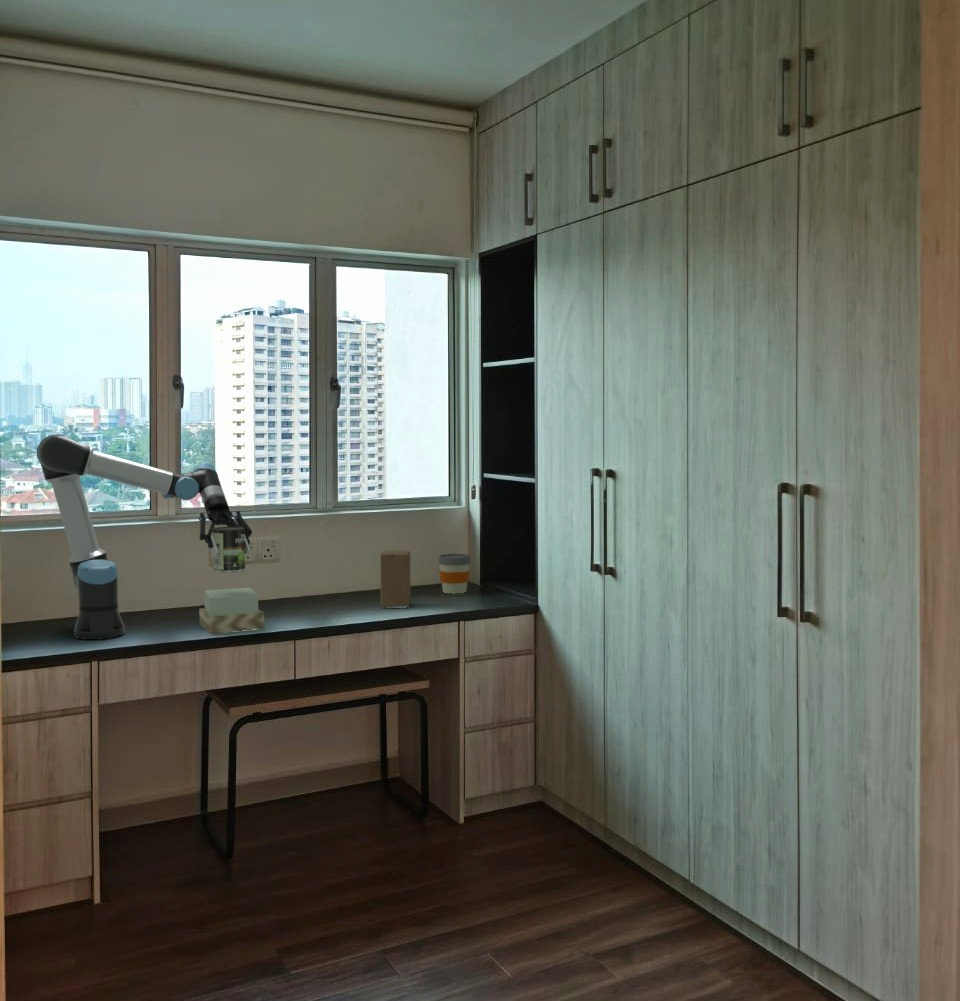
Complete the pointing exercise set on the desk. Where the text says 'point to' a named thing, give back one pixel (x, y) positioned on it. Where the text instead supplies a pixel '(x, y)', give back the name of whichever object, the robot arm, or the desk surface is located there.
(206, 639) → the desk surface
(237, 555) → the coffee can
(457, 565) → the reusable coffee cup
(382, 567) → the wooden block
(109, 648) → the desk surface
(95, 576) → the robot arm
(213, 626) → the birch base slab
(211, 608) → the sage top slab
